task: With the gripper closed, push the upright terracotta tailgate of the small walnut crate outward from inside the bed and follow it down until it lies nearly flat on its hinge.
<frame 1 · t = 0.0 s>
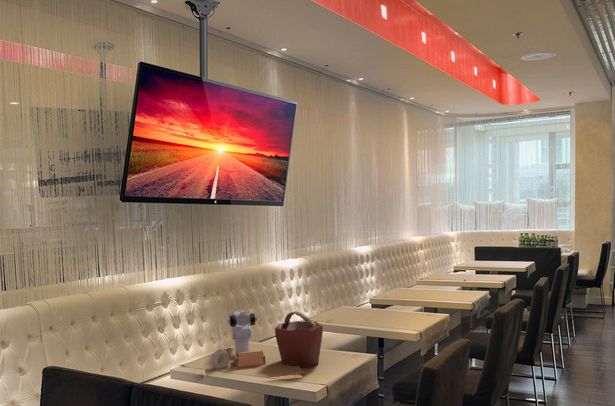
hand: (243, 321, 281), 22 cm above the table, tool horizontal, fingers open, 7 cm apart
bucket: (299, 365, 280), on the table
donut: (221, 370, 276), on the table
tailgate: (250, 359, 277), point 5 cm above the table, hinge at 0.0°
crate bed: (249, 365, 283), on the table
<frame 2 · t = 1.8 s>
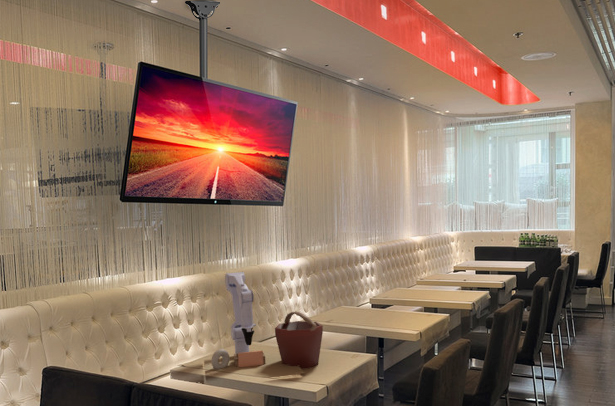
hand: (248, 343, 285), 10 cm above the table, tool pointing down, fingers open, 5 cm apart
nothing on the table moved.
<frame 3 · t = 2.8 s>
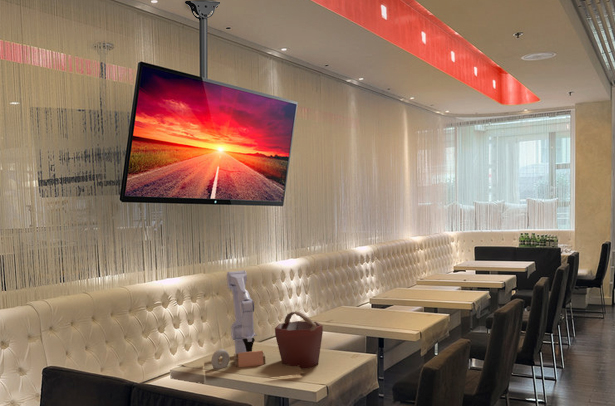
hand: (249, 353, 283), 6 cm above the table, tool pointing down, fingers closed
nothing on the table moved.
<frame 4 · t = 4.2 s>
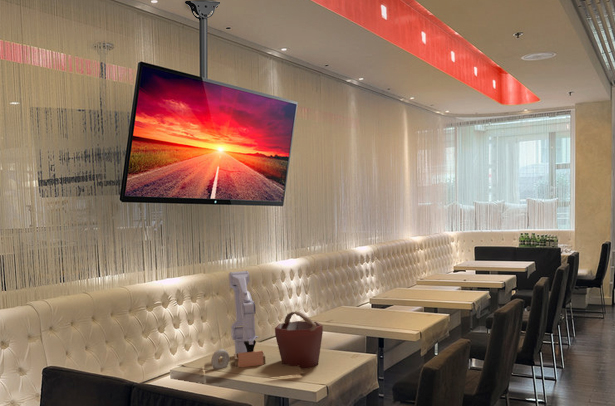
hand: (250, 356, 277), 6 cm above the table, tool pointing down, fingers closed, pressing on tailgate
tailgate: (250, 359, 276), point 5 cm above the table, hinge at 3.1°, touching gripper
everything else where it was.
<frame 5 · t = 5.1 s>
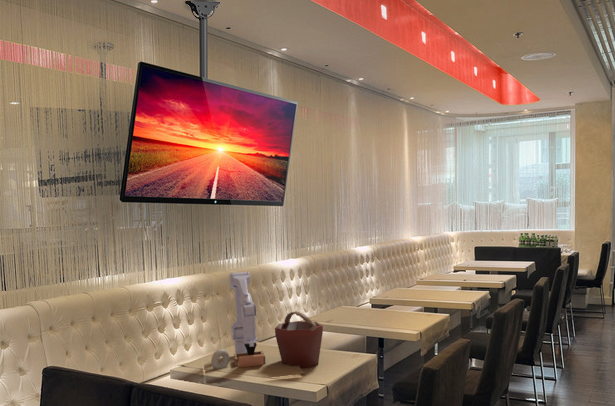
hand: (251, 359, 275), 5 cm above the table, tool pointing down, fingers closed, pressing on tailgate
tailgate: (251, 361, 275), point 4 cm above the table, hinge at 33.9°, touching gripper
everything else where it was.
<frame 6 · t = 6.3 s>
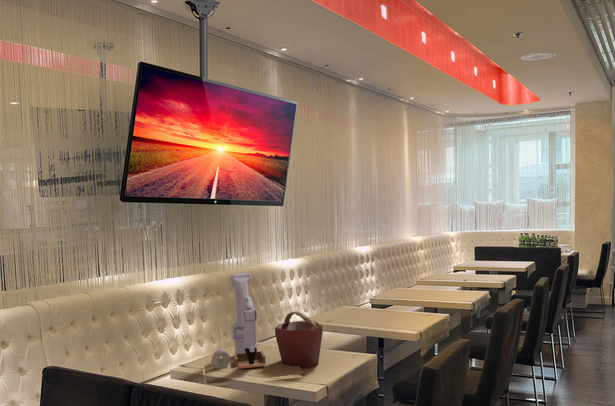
hand: (251, 363, 274), 3 cm above the table, tool pointing down, fingers closed
tailgate: (251, 365, 274), point 2 cm above the table, hinge at 77.9°
everything else where it was.
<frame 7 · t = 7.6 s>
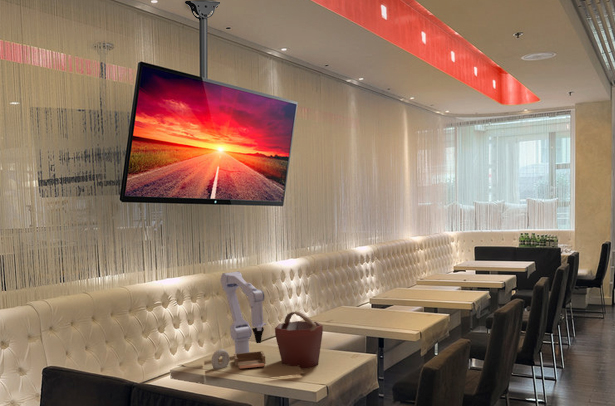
hand: (258, 342, 286), 10 cm above the table, tool pointing down, fingers closed
nothing on the table moved.
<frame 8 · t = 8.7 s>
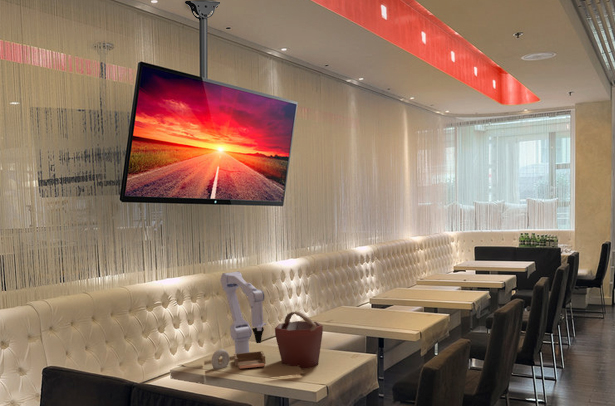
hand: (258, 342, 286), 10 cm above the table, tool pointing down, fingers closed
nothing on the table moved.
at the end: tailgate at +78° (first picture: +0°) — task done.
